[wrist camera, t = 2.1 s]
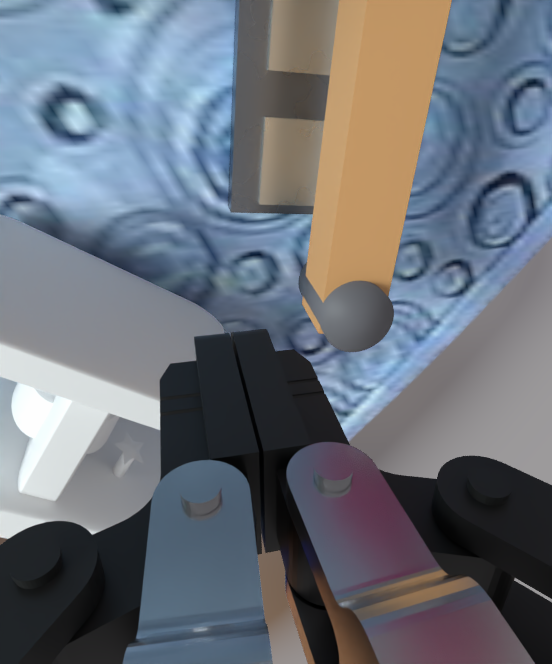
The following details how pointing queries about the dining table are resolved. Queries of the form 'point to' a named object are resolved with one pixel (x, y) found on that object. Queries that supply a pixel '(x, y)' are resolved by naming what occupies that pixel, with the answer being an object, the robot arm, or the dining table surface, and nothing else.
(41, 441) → the cable organizer
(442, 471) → the robot arm
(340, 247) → the swing bar
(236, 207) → the label plate
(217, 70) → the dining table surface
